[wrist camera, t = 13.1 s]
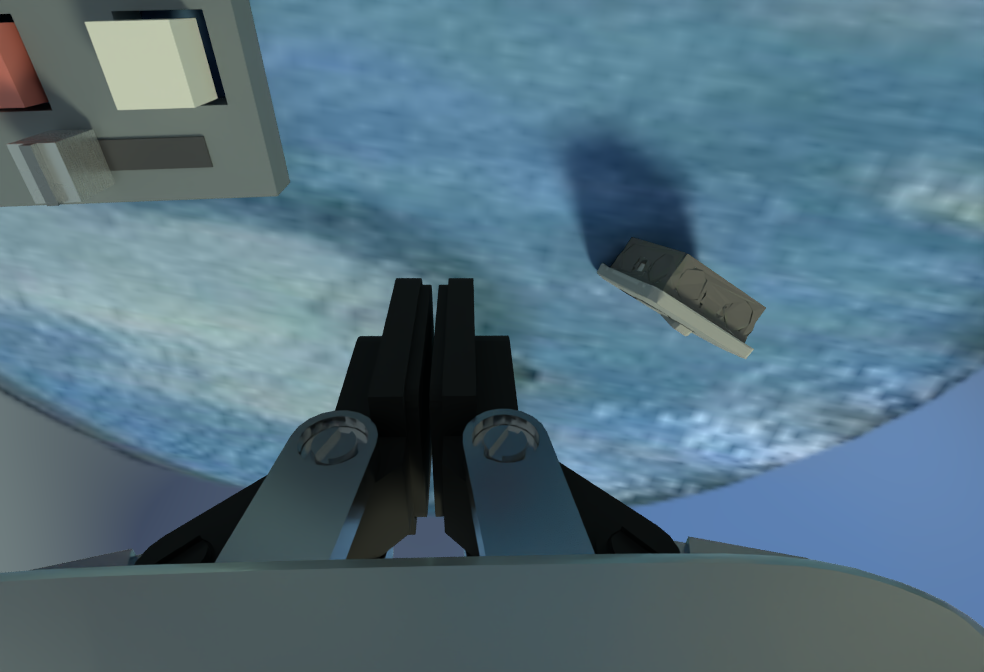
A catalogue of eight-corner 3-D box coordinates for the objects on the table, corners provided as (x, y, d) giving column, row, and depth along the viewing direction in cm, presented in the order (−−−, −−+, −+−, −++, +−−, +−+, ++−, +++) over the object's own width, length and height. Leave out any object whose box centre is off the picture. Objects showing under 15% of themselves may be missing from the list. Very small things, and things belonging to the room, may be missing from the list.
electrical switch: (591, 269, 42) (632, 321, 34) (632, 213, 40) (686, 254, 32) (676, 322, 45) (732, 380, 37) (717, 272, 43) (786, 323, 35)
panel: (-75, 1, 30) (-127, 0, 27) (247, -7, 31) (227, -8, 28) (21, 192, 36) (-13, 207, 33) (290, 182, 37) (277, 196, 34)
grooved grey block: (48, 130, 31) (-1, 146, 27) (93, 129, 31) (48, 144, 27) (73, 185, 32) (29, 206, 29) (115, 183, 33) (76, 204, 29)
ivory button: (119, 19, 28) (84, 21, 26) (195, 17, 28) (168, 19, 26) (147, 100, 30) (117, 110, 28) (217, 98, 31) (194, 107, 28)
